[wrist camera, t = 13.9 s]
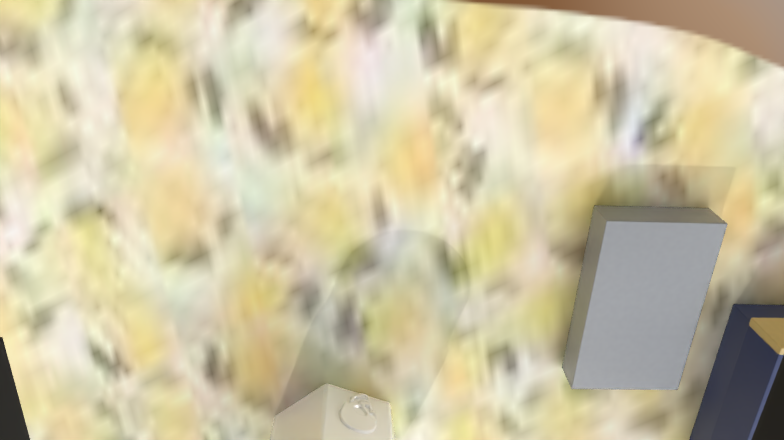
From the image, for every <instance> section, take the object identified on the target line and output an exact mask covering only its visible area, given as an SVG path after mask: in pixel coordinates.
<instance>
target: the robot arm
mask: <svg viewBox="0 0 784 440" xmlns="http://www.w3.org/2000/svg"><path fill="white" fill-rule="evenodd" d="M0 440H30V438H29V434H28V430H27V427H26V423H25V419H24V416H23V412H22V408H21V405H20V401H19V397H18V393H17V390H16V386H15V382H14V379H13V375H12V371H11V368H10V364H9V360H8V357H7V353H6V349H5V345H4V342H3V338H2V337H0ZM752 440H784V356H783V358H782V361H781V363H780V366H779V369H778V371H777V374H776V377H775V379H774V382H773V384H772V387H771V390H770V392H769V395H768V398H767V400H766V403H765V405H764V408H763V411H762V413H761V416H760V419H759V421H758V424H757V426H756V429H755V432H754V434H753V437H752Z"/></svg>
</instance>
